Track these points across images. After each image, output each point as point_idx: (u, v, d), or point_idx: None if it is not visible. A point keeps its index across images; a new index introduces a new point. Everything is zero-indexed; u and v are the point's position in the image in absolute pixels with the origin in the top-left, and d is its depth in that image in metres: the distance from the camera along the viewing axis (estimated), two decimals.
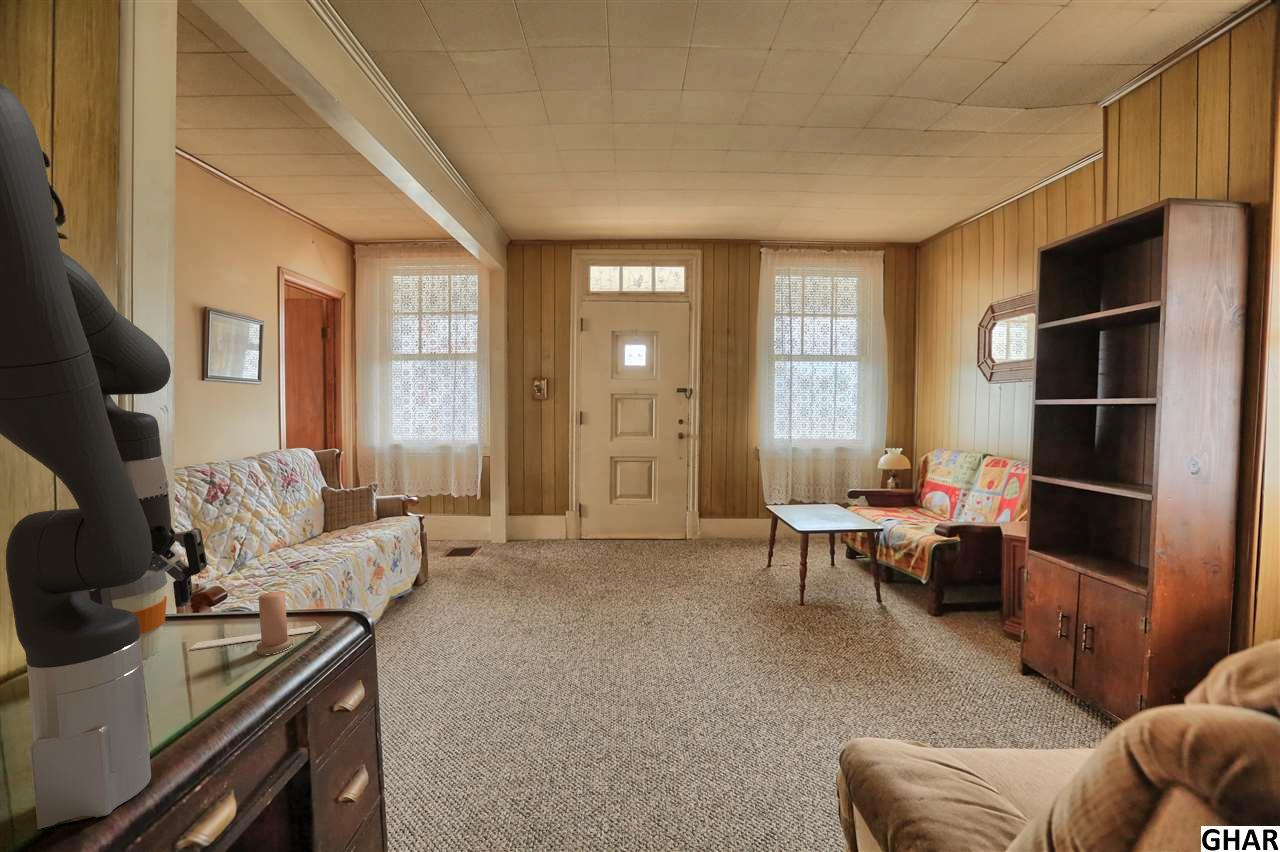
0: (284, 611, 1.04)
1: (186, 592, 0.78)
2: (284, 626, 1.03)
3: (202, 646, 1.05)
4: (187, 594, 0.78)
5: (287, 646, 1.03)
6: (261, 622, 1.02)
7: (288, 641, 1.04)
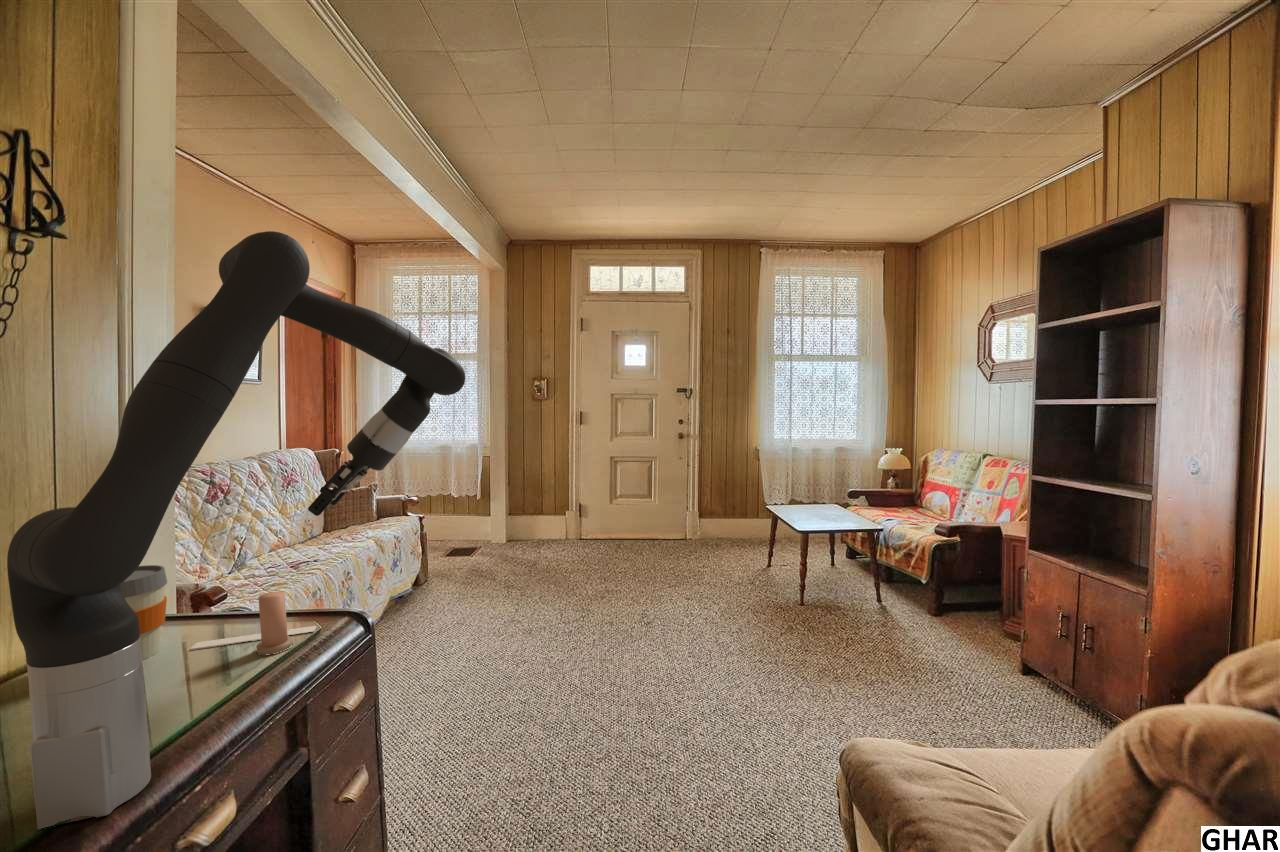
0: (284, 611, 1.04)
1: (315, 503, 0.98)
2: (284, 626, 1.03)
3: (202, 646, 1.05)
4: (314, 504, 0.98)
5: (287, 646, 1.03)
6: (261, 622, 1.02)
7: (288, 641, 1.04)
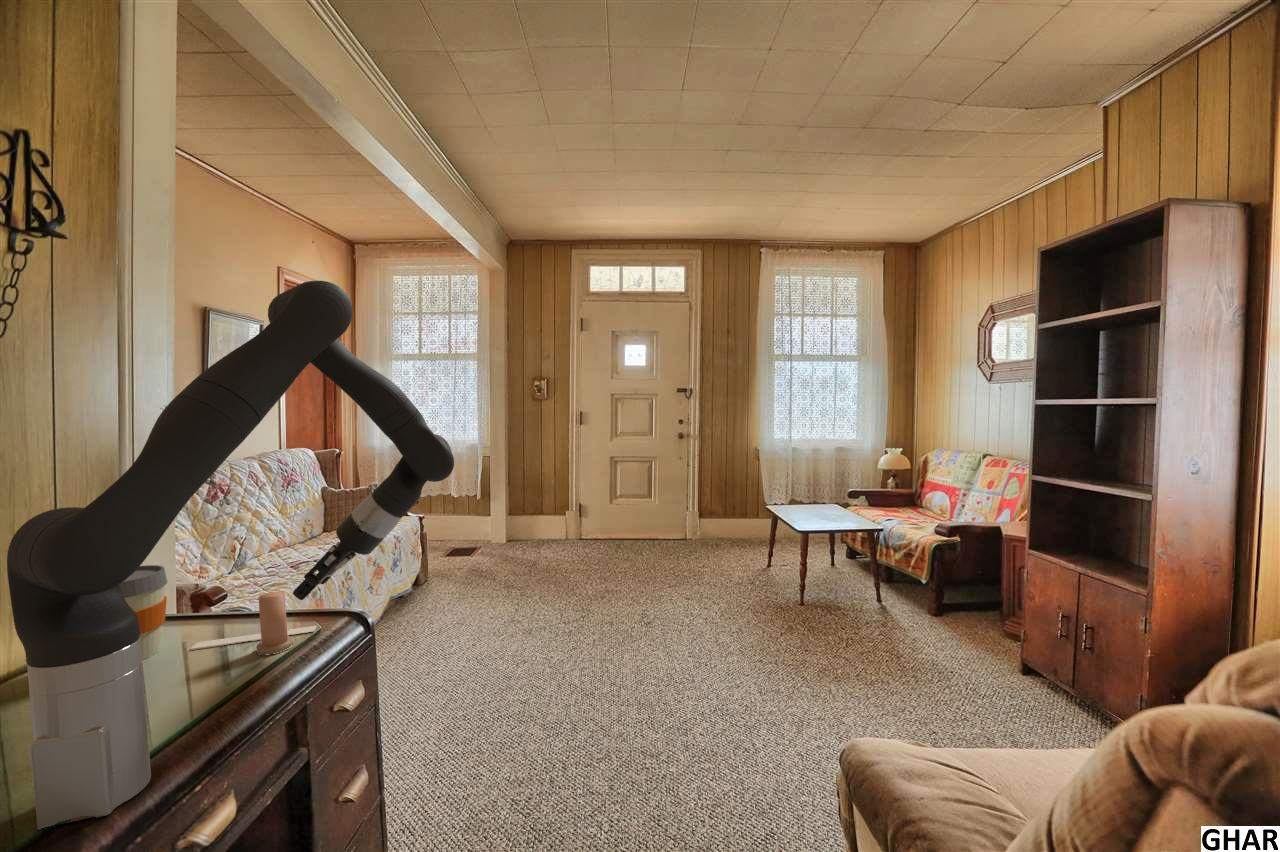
0: (284, 611, 1.04)
1: (300, 587, 0.99)
2: (284, 626, 1.03)
3: (202, 646, 1.05)
4: (298, 589, 0.99)
5: (287, 646, 1.03)
6: (261, 622, 1.02)
7: (288, 641, 1.04)
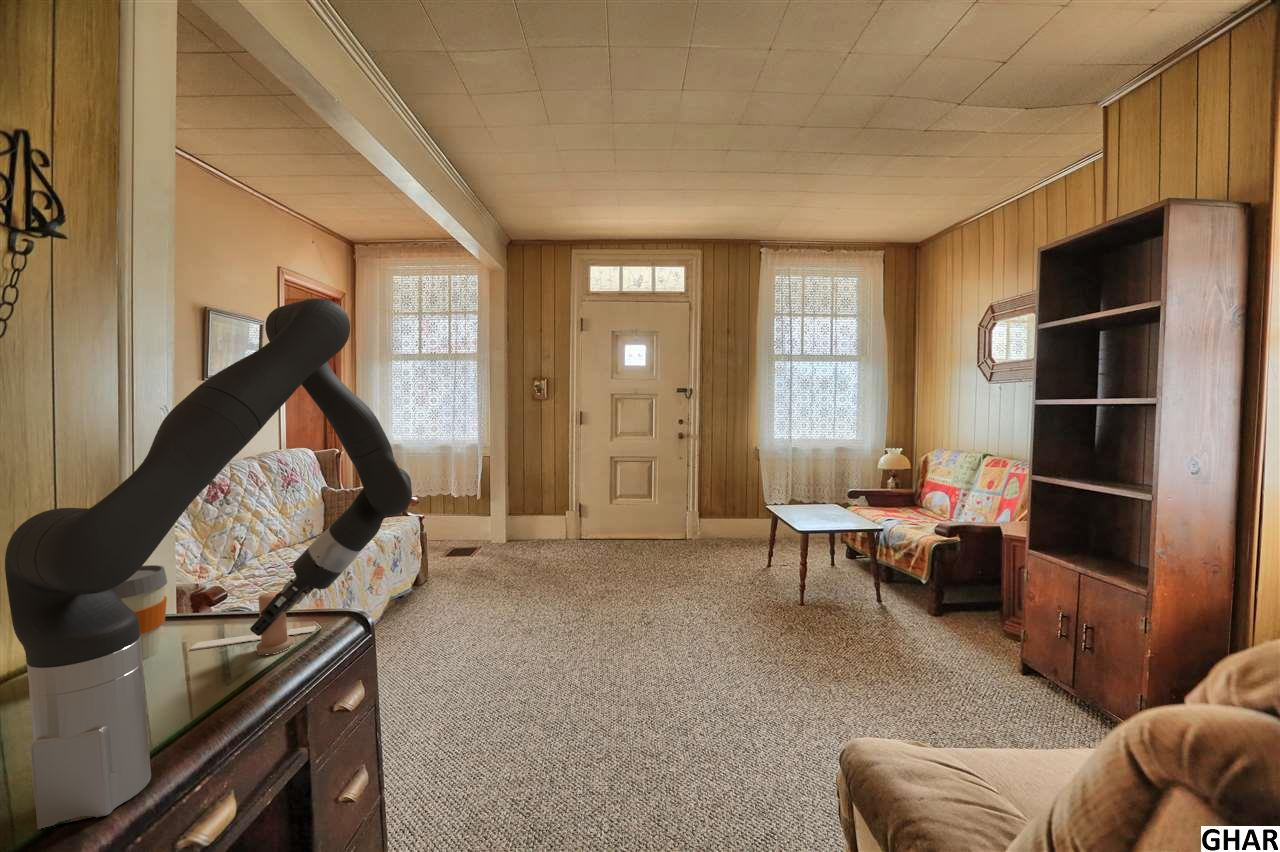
0: None
1: (257, 623, 1.00)
2: (284, 626, 1.03)
3: (202, 646, 1.05)
4: (255, 625, 1.00)
5: (287, 646, 1.03)
6: None
7: (288, 641, 1.04)
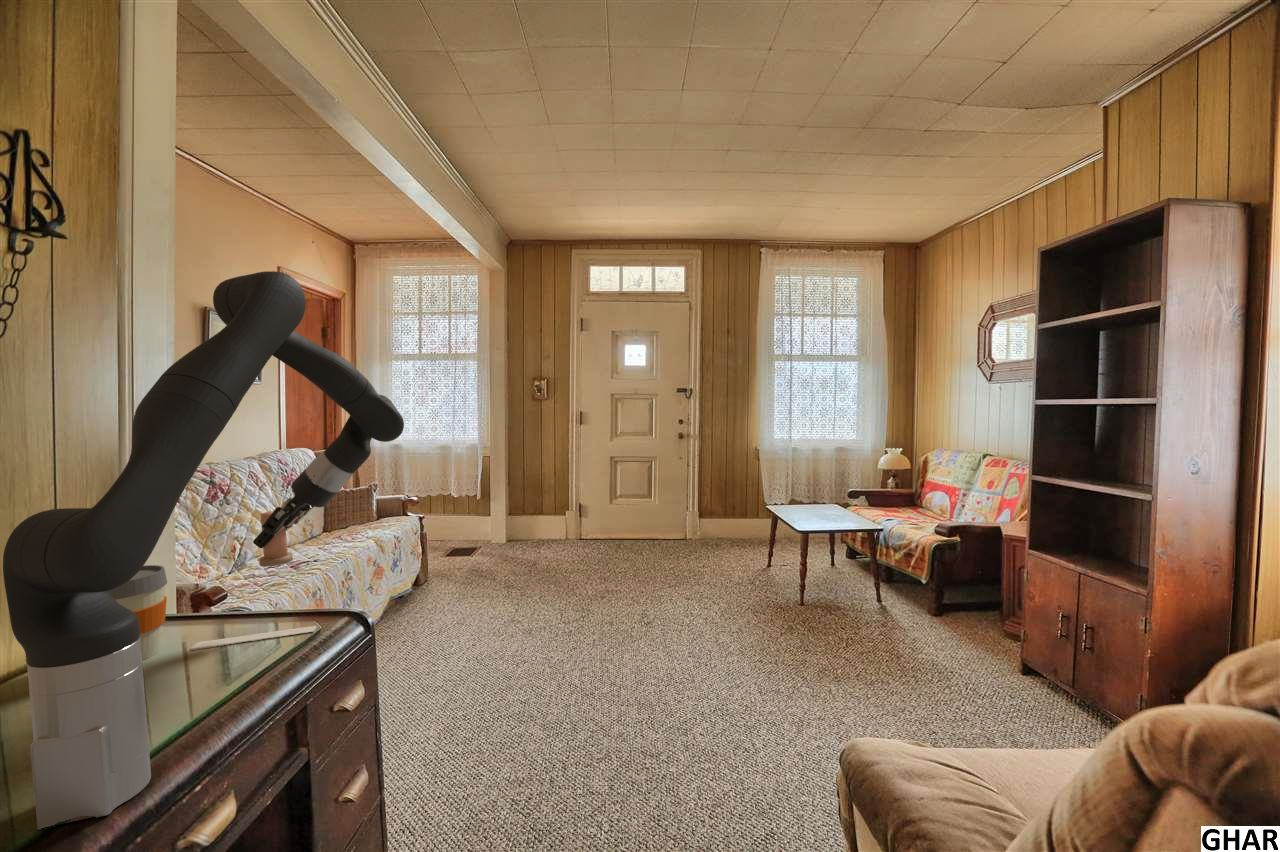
0: (284, 528, 1.13)
1: None
2: (284, 541, 1.13)
3: (202, 646, 1.05)
4: (258, 538, 1.10)
5: (287, 559, 1.13)
6: None
7: (288, 555, 1.14)
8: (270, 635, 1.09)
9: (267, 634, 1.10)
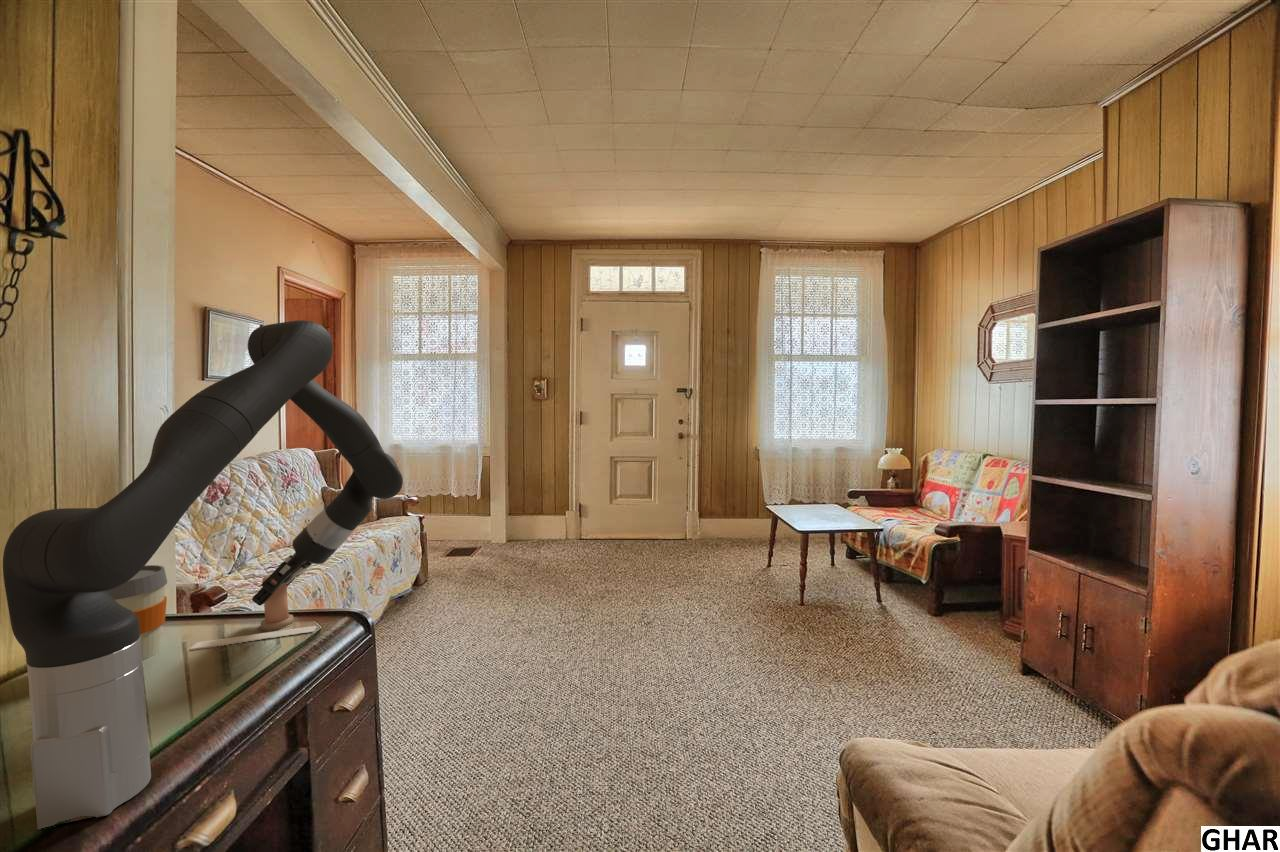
0: (285, 591, 1.15)
1: (258, 594, 1.10)
2: (285, 604, 1.15)
3: (202, 646, 1.05)
4: (257, 595, 1.09)
5: (288, 622, 1.14)
6: None
7: (289, 618, 1.15)
8: (270, 635, 1.09)
9: (267, 634, 1.10)
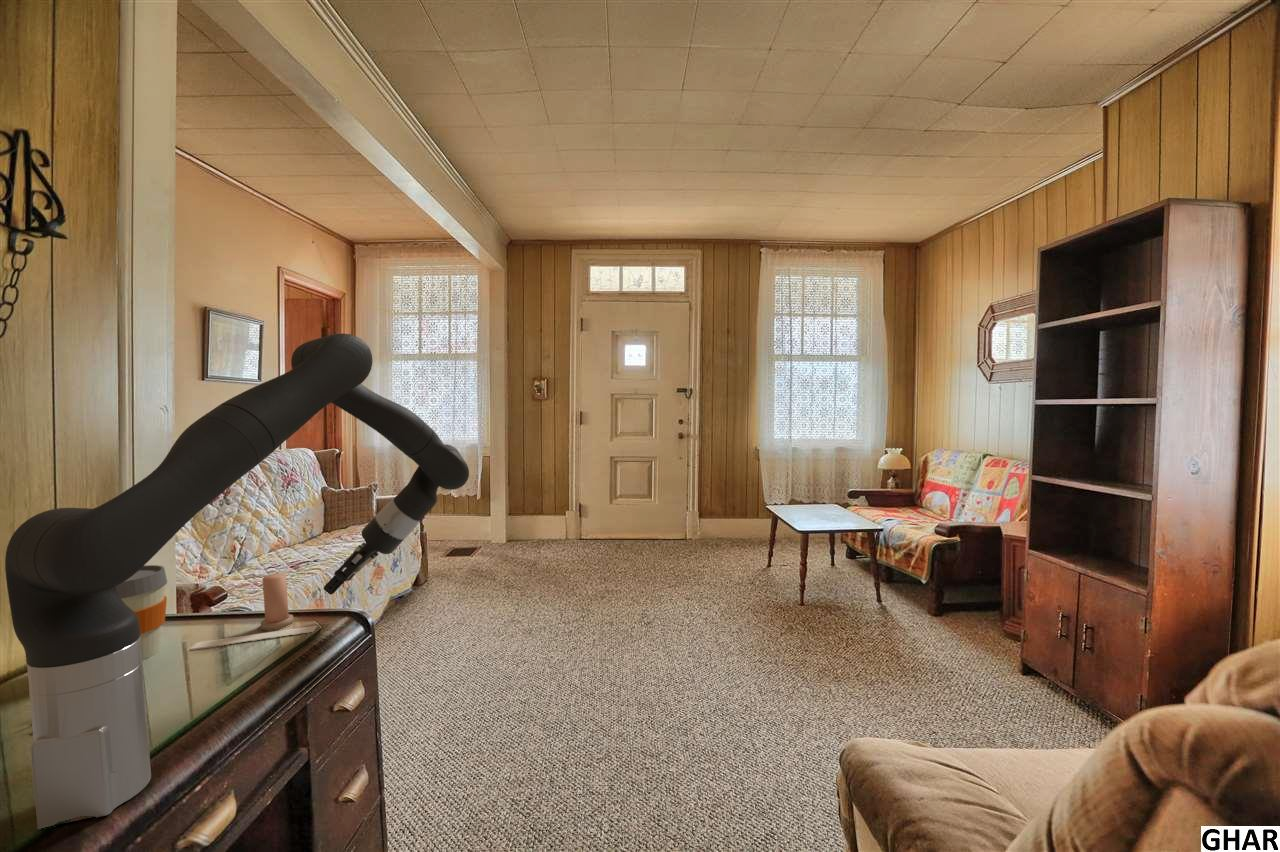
0: (285, 591, 1.15)
1: (330, 583, 1.11)
2: (285, 604, 1.15)
3: (202, 646, 1.05)
4: (328, 584, 1.11)
5: (288, 622, 1.14)
6: (265, 601, 1.13)
7: (289, 618, 1.15)
8: (270, 635, 1.09)
9: (267, 634, 1.10)
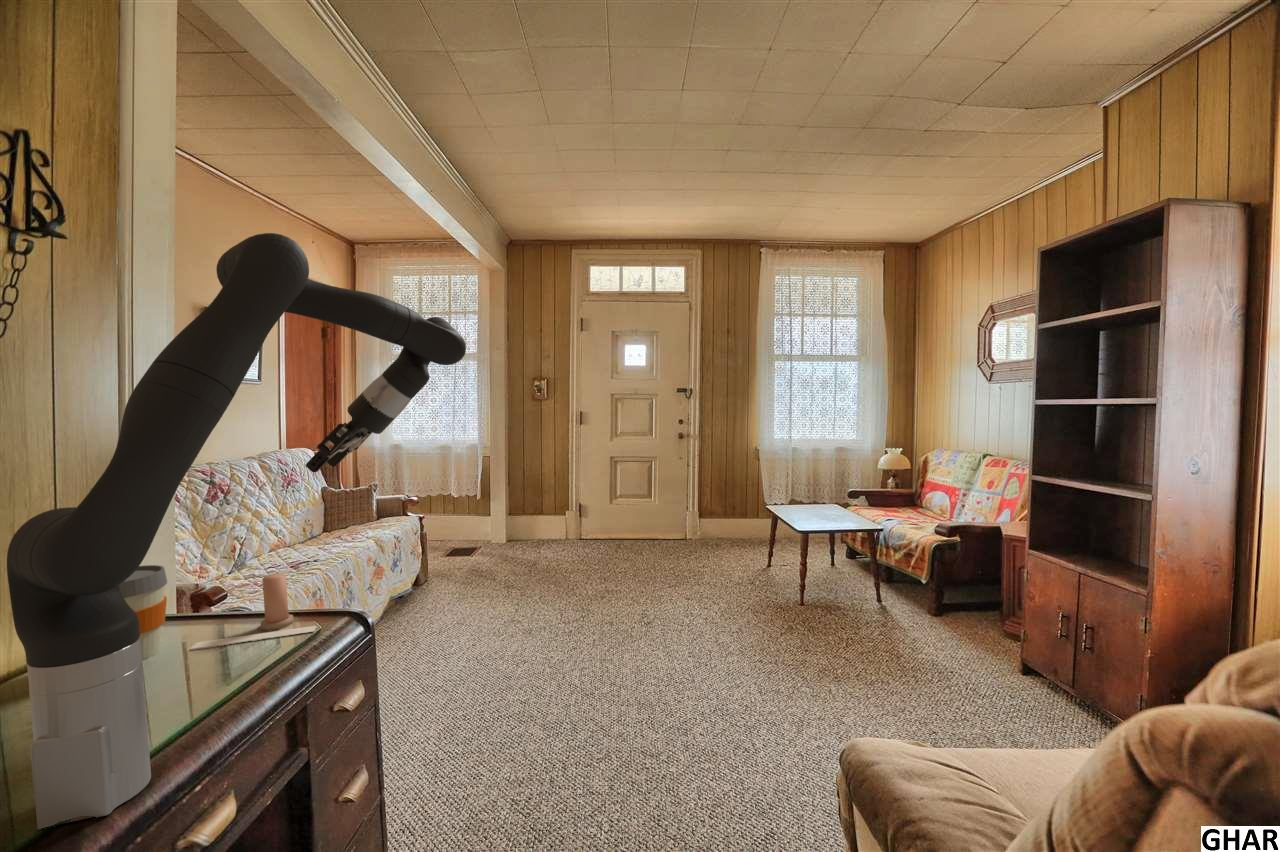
0: (285, 591, 1.15)
1: None
2: (285, 604, 1.15)
3: (202, 646, 1.05)
4: (311, 460, 1.02)
5: (288, 622, 1.14)
6: (265, 601, 1.13)
7: (289, 618, 1.15)
8: (270, 635, 1.09)
9: (267, 634, 1.10)
